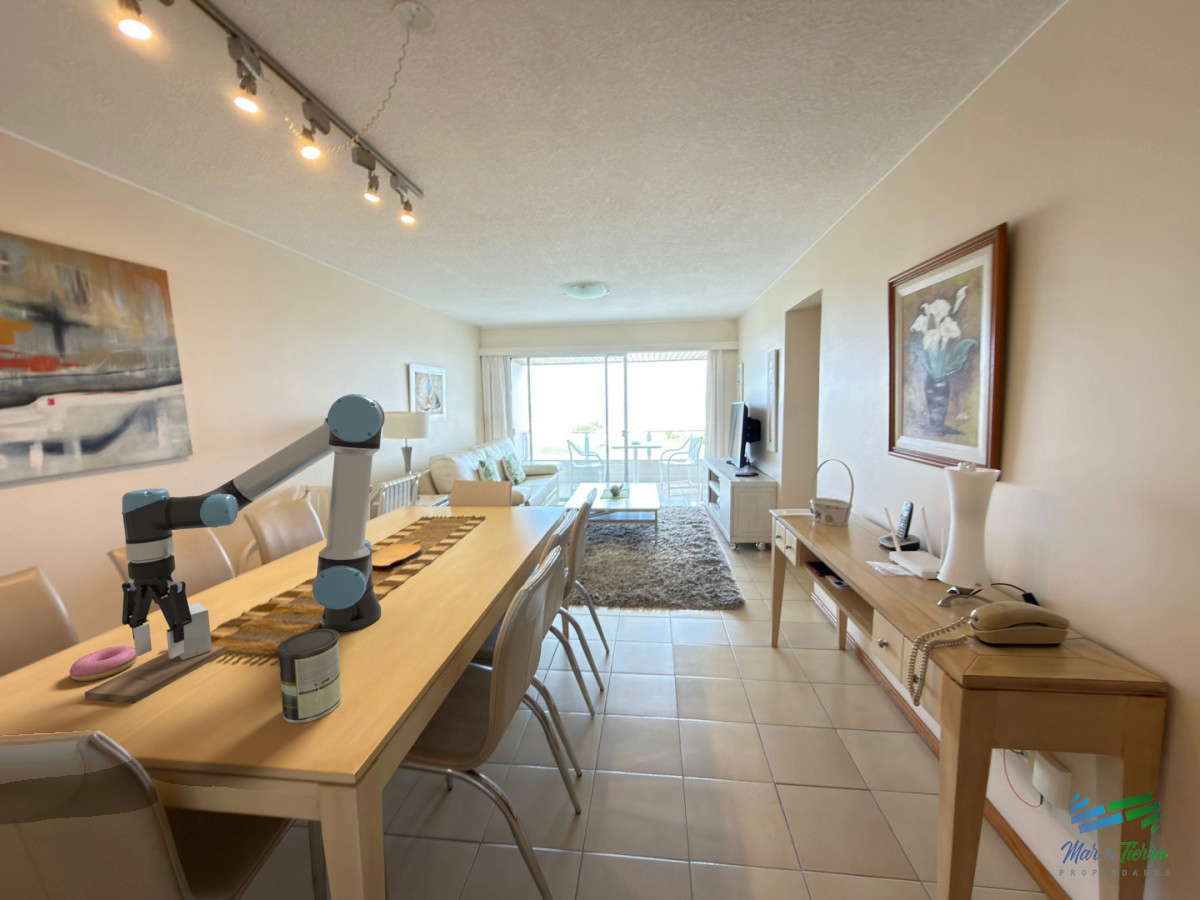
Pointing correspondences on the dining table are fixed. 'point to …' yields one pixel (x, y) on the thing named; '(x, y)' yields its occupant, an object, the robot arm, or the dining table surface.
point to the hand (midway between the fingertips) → (160, 654)
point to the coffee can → (310, 675)
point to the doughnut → (103, 663)
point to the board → (150, 677)
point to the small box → (197, 632)
